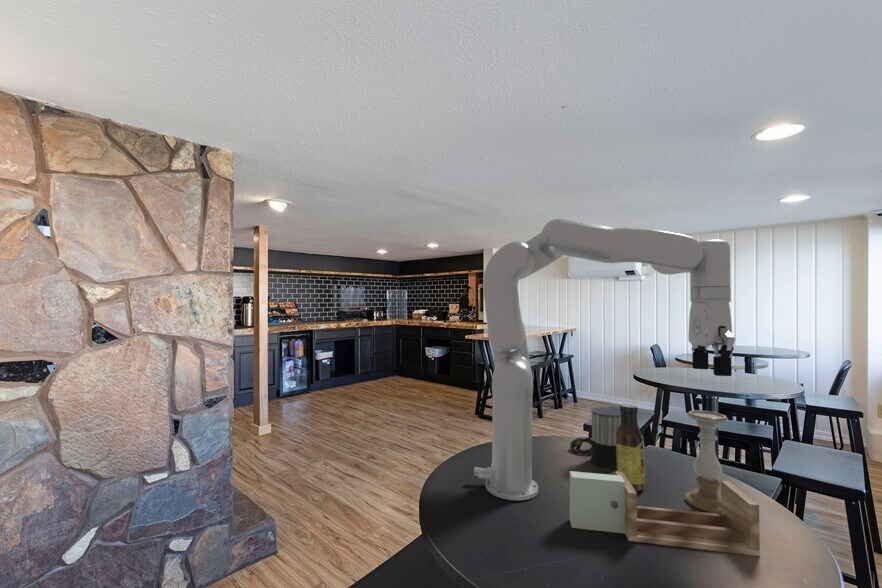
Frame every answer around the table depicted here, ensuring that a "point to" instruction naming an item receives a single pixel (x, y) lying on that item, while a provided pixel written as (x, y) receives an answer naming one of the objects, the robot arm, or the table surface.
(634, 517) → the track
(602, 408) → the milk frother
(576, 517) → the rectangular block
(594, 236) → the robot arm
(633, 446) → the sauce bottle
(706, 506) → the candle holder
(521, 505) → the table surface
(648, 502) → the table surface
